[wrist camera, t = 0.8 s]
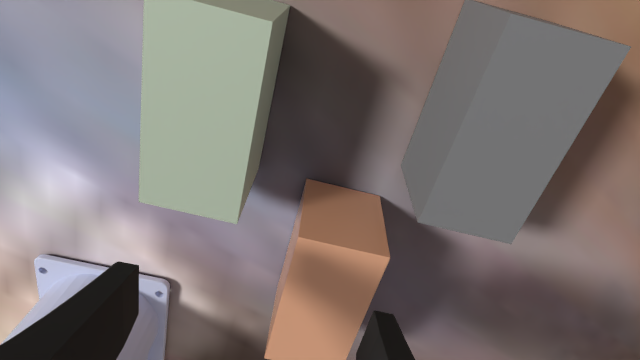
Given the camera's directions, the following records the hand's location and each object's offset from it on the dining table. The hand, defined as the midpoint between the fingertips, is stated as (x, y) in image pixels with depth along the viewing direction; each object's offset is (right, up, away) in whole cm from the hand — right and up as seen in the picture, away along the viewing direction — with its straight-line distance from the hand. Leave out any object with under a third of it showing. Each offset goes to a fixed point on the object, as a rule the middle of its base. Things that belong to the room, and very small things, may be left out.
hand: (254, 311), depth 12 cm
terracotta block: (+2, 0, +11) cm, 11 cm away
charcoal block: (+9, +8, +6) cm, 13 cm away
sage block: (-2, +9, +6) cm, 11 cm away
